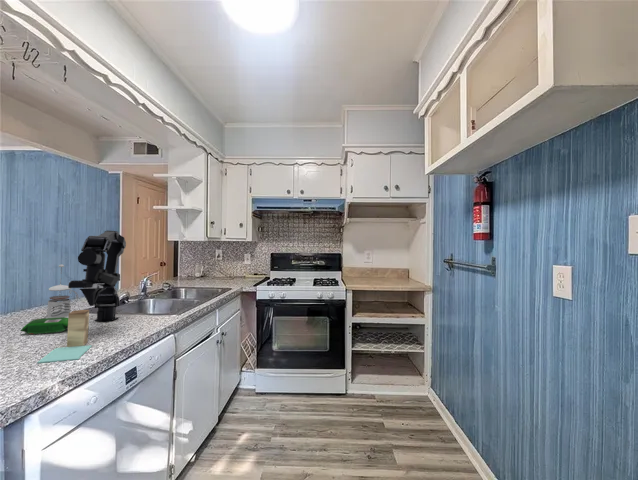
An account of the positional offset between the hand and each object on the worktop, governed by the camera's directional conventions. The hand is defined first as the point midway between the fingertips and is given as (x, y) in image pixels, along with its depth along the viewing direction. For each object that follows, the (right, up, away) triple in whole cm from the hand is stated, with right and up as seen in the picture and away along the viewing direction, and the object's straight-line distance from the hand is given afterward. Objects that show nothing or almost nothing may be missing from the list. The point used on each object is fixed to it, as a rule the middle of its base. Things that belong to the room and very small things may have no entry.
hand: (91, 305), depth 113 cm
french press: (-31, -10, +20) cm, 38 cm away
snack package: (-18, -11, +1) cm, 21 cm away
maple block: (+4, -11, -11) cm, 17 cm away
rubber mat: (+7, -11, -19) cm, 24 cm away
